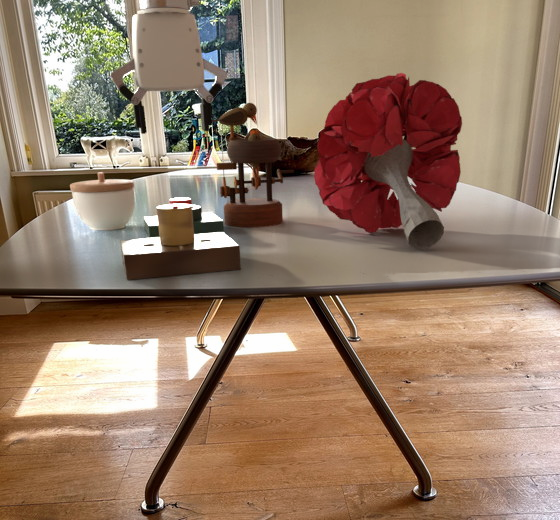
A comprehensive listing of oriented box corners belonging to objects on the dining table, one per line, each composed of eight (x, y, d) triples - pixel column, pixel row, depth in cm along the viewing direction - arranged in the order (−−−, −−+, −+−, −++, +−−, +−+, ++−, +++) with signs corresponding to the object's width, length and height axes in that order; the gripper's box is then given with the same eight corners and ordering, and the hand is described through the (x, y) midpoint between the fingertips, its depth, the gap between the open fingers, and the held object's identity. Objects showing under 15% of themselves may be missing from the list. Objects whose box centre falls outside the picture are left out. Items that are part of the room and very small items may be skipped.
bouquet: (482, 283, 91) (419, 167, 109) (534, 143, 72) (447, 30, 90) (344, 302, 89) (303, 181, 106) (361, 163, 70) (307, 44, 87)
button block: (150, 240, 95) (147, 214, 93) (144, 229, 103) (142, 206, 102) (224, 234, 98) (222, 209, 96) (212, 224, 106) (211, 201, 105)
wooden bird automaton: (227, 230, 100) (215, 100, 94) (209, 226, 110) (198, 108, 103) (309, 222, 105) (304, 98, 99) (285, 219, 115) (279, 106, 108)
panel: (127, 280, 71) (123, 253, 70) (122, 262, 80) (119, 239, 79) (240, 269, 75) (239, 244, 74) (224, 253, 84) (223, 230, 82)
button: (171, 212, 97) (170, 201, 96) (169, 209, 100) (168, 198, 100) (193, 210, 98) (192, 199, 97) (190, 207, 101) (189, 197, 100)
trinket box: (94, 235, 99) (85, 176, 96) (66, 228, 107) (57, 173, 103) (150, 226, 106) (144, 171, 102) (120, 220, 113) (113, 168, 110)
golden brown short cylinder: (158, 240, 78) (154, 202, 76) (192, 238, 79) (189, 200, 77) (161, 247, 74) (157, 207, 72) (197, 244, 75) (193, 204, 73)
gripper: (217, 9, 91) (225, 129, 98) (101, 8, 87) (117, 134, 94) (226, 0, 85) (234, 130, 92) (101, -1, 81) (118, 135, 88)
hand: (175, 132), depth 93 cm, fingers open, 9 cm apart
